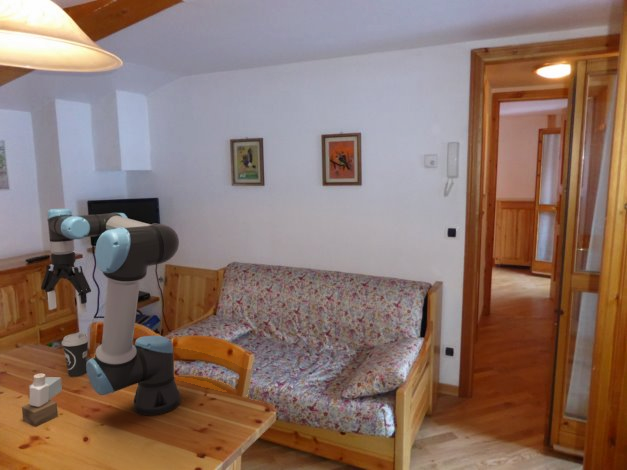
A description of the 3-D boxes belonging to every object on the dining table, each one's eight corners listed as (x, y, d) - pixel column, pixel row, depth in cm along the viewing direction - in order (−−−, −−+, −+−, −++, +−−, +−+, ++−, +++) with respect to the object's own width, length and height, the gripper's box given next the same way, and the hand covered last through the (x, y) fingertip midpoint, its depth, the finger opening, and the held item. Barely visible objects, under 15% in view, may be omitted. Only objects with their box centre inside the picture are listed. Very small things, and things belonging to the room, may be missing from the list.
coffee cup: (83, 378, 173) (80, 341, 171) (58, 378, 173) (55, 341, 171) (96, 368, 182) (93, 332, 180) (72, 368, 182) (69, 332, 180)
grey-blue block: (62, 390, 164) (61, 377, 163) (49, 400, 157) (48, 386, 156) (43, 389, 164) (42, 376, 164) (30, 399, 158) (29, 385, 157)
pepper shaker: (38, 399, 147) (39, 371, 145) (49, 402, 146) (49, 374, 145) (28, 405, 143) (28, 376, 142) (39, 408, 142) (39, 379, 141)
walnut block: (58, 417, 146) (56, 402, 145) (35, 427, 140) (34, 412, 139) (45, 411, 150) (44, 397, 149) (23, 421, 144) (21, 406, 143)
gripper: (99, 252, 160) (103, 310, 163) (44, 248, 168) (49, 304, 170) (82, 256, 153) (87, 316, 156) (26, 252, 160) (31, 310, 163)
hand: (67, 310), depth 163 cm, fingers open, 13 cm apart
